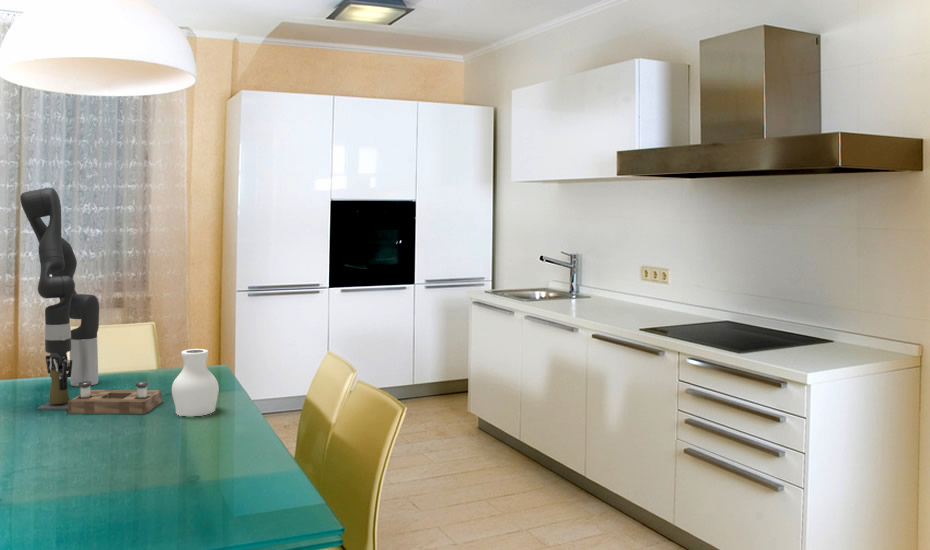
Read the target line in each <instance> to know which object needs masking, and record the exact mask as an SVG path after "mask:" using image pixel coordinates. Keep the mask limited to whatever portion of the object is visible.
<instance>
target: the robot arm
mask: <svg viewBox="0 0 930 550" xmlns="http://www.w3.org/2000/svg"><path fill="white" fill-rule="evenodd" d="M19 200H20V204H21V207H22V210H23V212H24V214H25V216H26V218H27V220H28V222H29V224H30V226H31V229H32V231H33V232H34V234H35V237H36V240H37V242H38V243H39V245H38V256H39V265H40V274H39V280H38V283H37V284H38V285H37V292H38V294H39V296H40V297H42V298H43V299H59V302H58V303H56V304H52V305H49V306H46V307H45V309H44V318H45V320H44V321H45V322H44V323H45V324H44V326H45V327H44V346H45V349H44V351H45V353H47V354H49V355H45V363H46V371H47V374H49V375H50V372H51V370H53V369H56V372H58V373H59V389H60V390H67V388H68V378H70V379H69V382H70V386H72V387H80V386H79V384H78V383H79V382H83V381H91V382H92V385H91V386H95V385H97V384H99V356H98V355H99V354H98V351H99V350H98V332H99V328H100V327H99V326H100V325H99V324H100V303H99V299H98V297H97V296H96V295H95V294H89V293H88V294H87V293H86V294H85V293H77V291H76V289H75V288H76V283H75V281H74V276H75V273H76V270H77V267H78V266H77V265H78V261H77V258H76V254H75V252H74V249H73V247H72V246H71V243H70V242H68V241H67V240H66V239H65V238H64V237H62V205H61V199H60V196H59V194H58V192H57V191H56V189H54V188H53V187H47V188H40V189H35V190H29V191H28V190H27V191H25V192H22V193H21V194H20V199H19ZM43 217H44V218H45V217H49V221H48V225H46V223H45V222H44V221H43V219H42V218H43ZM71 320H80V325H79V326H78V327H76V328H71V323H70V321H71ZM68 352H69V359H68V354H67V353H68ZM61 368H62V369H61ZM61 372H62V373H61Z"/></svg>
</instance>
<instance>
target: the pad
mask: <svg viewBox="0 0 930 550" xmlns="http://www.w3.org/2000/svg"><path fill="white" fill-rule="evenodd" d="M38 410H39V411H40V410H41V411H44V410H45V411H68V402H67V403H62V404H50V403H49V401H48V402H46V403H44V404H41V405H40V406H37V407H36V411H38Z"/></svg>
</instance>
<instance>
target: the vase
mask: <svg viewBox="0 0 930 550" xmlns="http://www.w3.org/2000/svg"><path fill="white" fill-rule="evenodd" d="M180 355H181V357H182V361H183V368H182V369H181V371H180V372H179V374H178V375H177V376H176V377H175V379H174V381H173V382H172V385H171V396H172V399H173V402H174V407H175V414H177V415H176V416H178V415H179V416H178V417H181V416H202V415H207V414H210V413H212V412H214V411H215V412H216V405H217V401H218V397H219V392H220V390H219V386H220V385H219V382H218V380H217V378H216V377H215V375H214V374H213V373H212V372H211V371H210V370H209V369H208V367H207V360H208V356H209V350H208V349H204V348H189V349H185V350H182V351H181V353H180ZM215 412H214V413H215ZM210 415H211V414H210ZM207 416H208V415H207ZM202 417H203V416H202Z"/></svg>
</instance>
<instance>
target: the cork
mask: <svg viewBox="0 0 930 550" xmlns="http://www.w3.org/2000/svg"><path fill="white" fill-rule="evenodd" d="M61 369H62V368H61ZM61 373H62V372H61ZM49 377H50V378H51V382H50V390H49V398H48V402H49V403H50V404H62V403H67V402H68V401H69V400H70V395H69V390H68V388H69V387H67V390H60V389H59V373H58V372H56V369H53V370H51V372H50V373H49Z"/></svg>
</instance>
